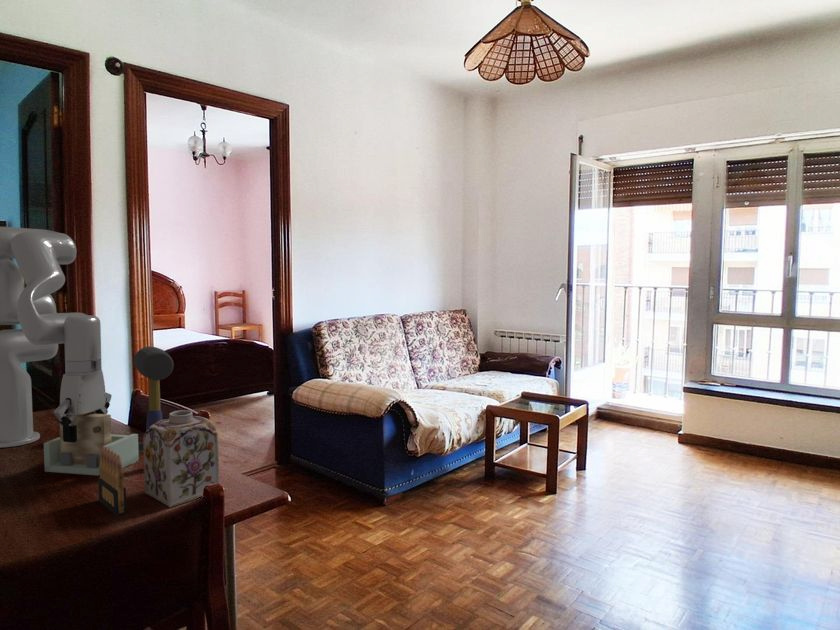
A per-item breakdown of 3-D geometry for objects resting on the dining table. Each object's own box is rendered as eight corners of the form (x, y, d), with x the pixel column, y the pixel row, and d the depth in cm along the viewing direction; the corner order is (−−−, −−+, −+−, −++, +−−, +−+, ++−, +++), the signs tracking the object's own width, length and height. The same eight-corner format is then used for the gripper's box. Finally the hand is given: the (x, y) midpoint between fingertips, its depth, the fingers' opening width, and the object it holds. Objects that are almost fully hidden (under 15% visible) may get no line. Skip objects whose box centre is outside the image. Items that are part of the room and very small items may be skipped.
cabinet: (44, 471, 134) (43, 443, 133) (79, 456, 145) (78, 430, 144) (108, 476, 131) (107, 447, 131) (138, 460, 142) (138, 434, 142)
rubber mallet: (178, 472, 134) (175, 349, 132) (144, 478, 130) (141, 351, 128) (166, 458, 144) (163, 343, 142) (134, 463, 140) (131, 345, 138)
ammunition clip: (98, 500, 118) (96, 445, 117) (108, 498, 119) (106, 443, 118) (116, 515, 110) (115, 456, 109) (126, 513, 112) (125, 454, 111)
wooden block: (57, 464, 135) (55, 415, 134) (68, 459, 138) (66, 412, 137) (102, 467, 133) (100, 418, 132) (112, 462, 136) (110, 414, 135)
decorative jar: (194, 479, 130) (192, 403, 129) (221, 491, 123) (220, 412, 122) (142, 494, 121) (140, 413, 120) (168, 509, 114) (166, 423, 112)
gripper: (95, 360, 143) (97, 425, 145) (40, 372, 126) (42, 445, 127) (122, 361, 142) (123, 427, 143) (69, 373, 125) (72, 447, 126)
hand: (85, 435), depth 135 cm, fingers open, 9 cm apart
